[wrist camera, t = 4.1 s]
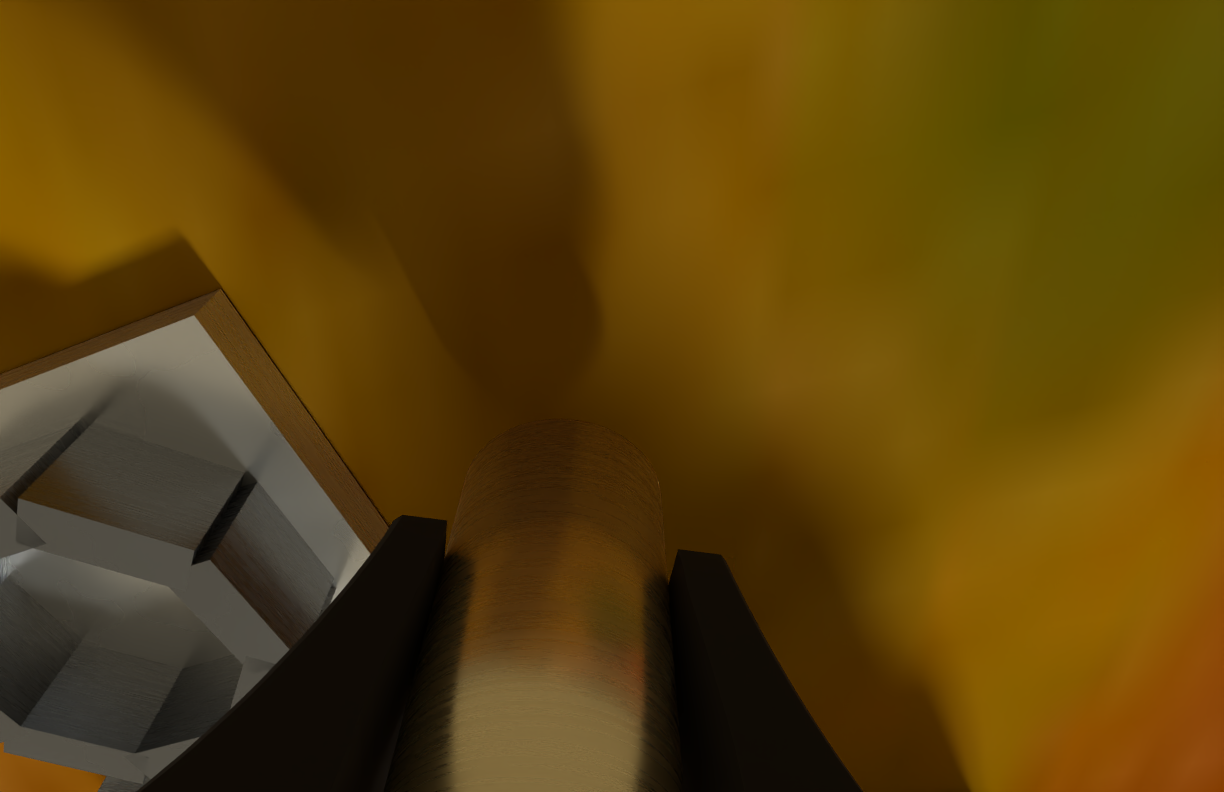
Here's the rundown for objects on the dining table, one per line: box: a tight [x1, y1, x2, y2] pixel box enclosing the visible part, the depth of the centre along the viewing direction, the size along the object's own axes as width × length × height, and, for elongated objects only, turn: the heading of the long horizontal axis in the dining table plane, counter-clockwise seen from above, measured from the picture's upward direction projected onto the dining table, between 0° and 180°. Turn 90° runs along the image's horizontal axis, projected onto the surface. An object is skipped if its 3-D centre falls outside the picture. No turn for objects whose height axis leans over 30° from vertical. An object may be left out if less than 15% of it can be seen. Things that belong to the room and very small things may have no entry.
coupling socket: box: [0, 289, 389, 792], centre depth 17 cm, size 14×15×3 cm
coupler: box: [384, 419, 684, 792], centre depth 10 cm, size 3×3×8 cm
